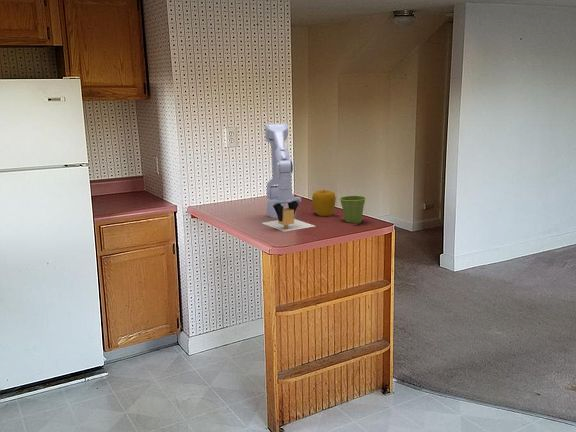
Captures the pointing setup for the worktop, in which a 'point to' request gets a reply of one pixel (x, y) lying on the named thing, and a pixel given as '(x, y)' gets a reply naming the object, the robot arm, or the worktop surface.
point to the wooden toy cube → (287, 216)
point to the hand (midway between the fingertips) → (285, 220)
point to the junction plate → (288, 227)
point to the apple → (324, 202)
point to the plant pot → (353, 208)
